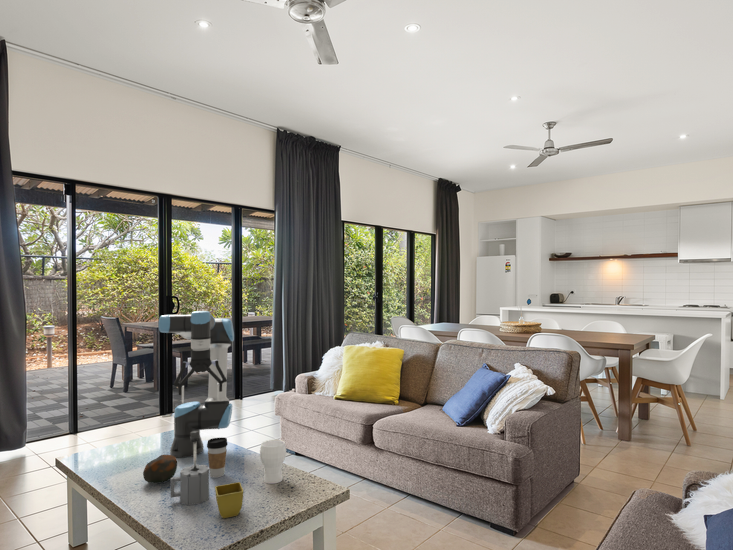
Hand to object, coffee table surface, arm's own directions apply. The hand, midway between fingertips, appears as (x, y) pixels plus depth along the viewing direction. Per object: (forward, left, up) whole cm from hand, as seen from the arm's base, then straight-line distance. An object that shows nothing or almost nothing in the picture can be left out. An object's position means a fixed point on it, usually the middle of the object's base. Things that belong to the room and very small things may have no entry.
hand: (200, 401), depth 189 cm
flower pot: (+31, +10, -33) cm, 47 cm away
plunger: (+14, -2, -25) cm, 29 cm away
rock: (-7, -16, -33) cm, 38 cm away
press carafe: (+14, -3, -33) cm, 36 cm away
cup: (+6, +28, -33) cm, 44 cm away
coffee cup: (-7, +6, -33) cm, 35 cm away
